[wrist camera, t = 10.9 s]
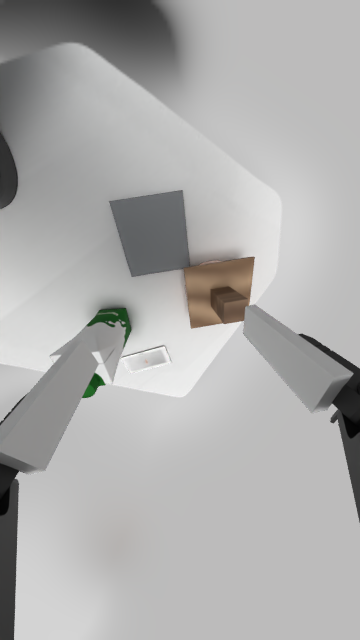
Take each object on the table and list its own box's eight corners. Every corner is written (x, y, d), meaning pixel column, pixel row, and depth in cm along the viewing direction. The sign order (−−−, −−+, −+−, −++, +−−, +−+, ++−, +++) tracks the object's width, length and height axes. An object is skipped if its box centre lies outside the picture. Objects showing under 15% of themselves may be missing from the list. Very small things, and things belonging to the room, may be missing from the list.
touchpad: (171, 360, 49) (171, 365, 47) (131, 371, 50) (129, 376, 48) (164, 343, 45) (164, 348, 43) (120, 355, 46) (119, 360, 44)
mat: (111, 202, 27) (109, 201, 26) (181, 191, 27) (182, 190, 26) (132, 275, 34) (131, 276, 33) (189, 266, 34) (189, 267, 33)
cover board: (183, 267, 28) (190, 276, 20) (251, 256, 28) (285, 261, 20) (190, 326, 35) (198, 350, 27) (245, 317, 35) (268, 338, 27)
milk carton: (105, 335, 41) (60, 402, 23) (94, 306, 37) (29, 363, 19) (135, 332, 41) (113, 396, 24) (128, 304, 37) (95, 357, 20)
